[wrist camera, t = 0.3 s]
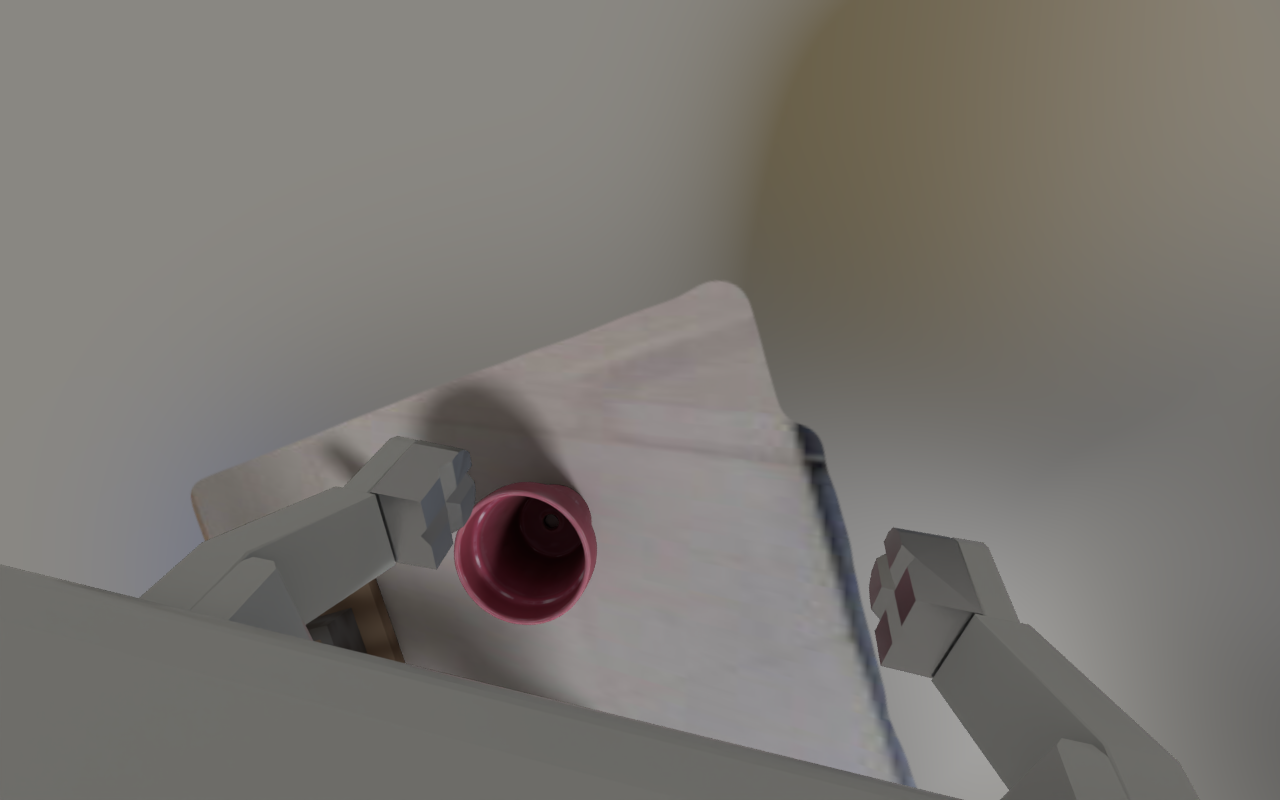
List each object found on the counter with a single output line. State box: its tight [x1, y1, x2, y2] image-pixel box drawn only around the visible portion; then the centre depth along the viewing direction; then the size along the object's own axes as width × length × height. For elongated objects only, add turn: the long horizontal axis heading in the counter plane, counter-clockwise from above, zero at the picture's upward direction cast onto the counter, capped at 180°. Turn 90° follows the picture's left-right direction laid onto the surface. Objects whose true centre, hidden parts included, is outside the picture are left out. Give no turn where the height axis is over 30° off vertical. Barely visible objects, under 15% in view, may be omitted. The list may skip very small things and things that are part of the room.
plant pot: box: [454, 482, 597, 625], centre depth 61 cm, size 14×14×13 cm
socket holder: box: [306, 578, 405, 663], centre depth 71 cm, size 18×18×6 cm
